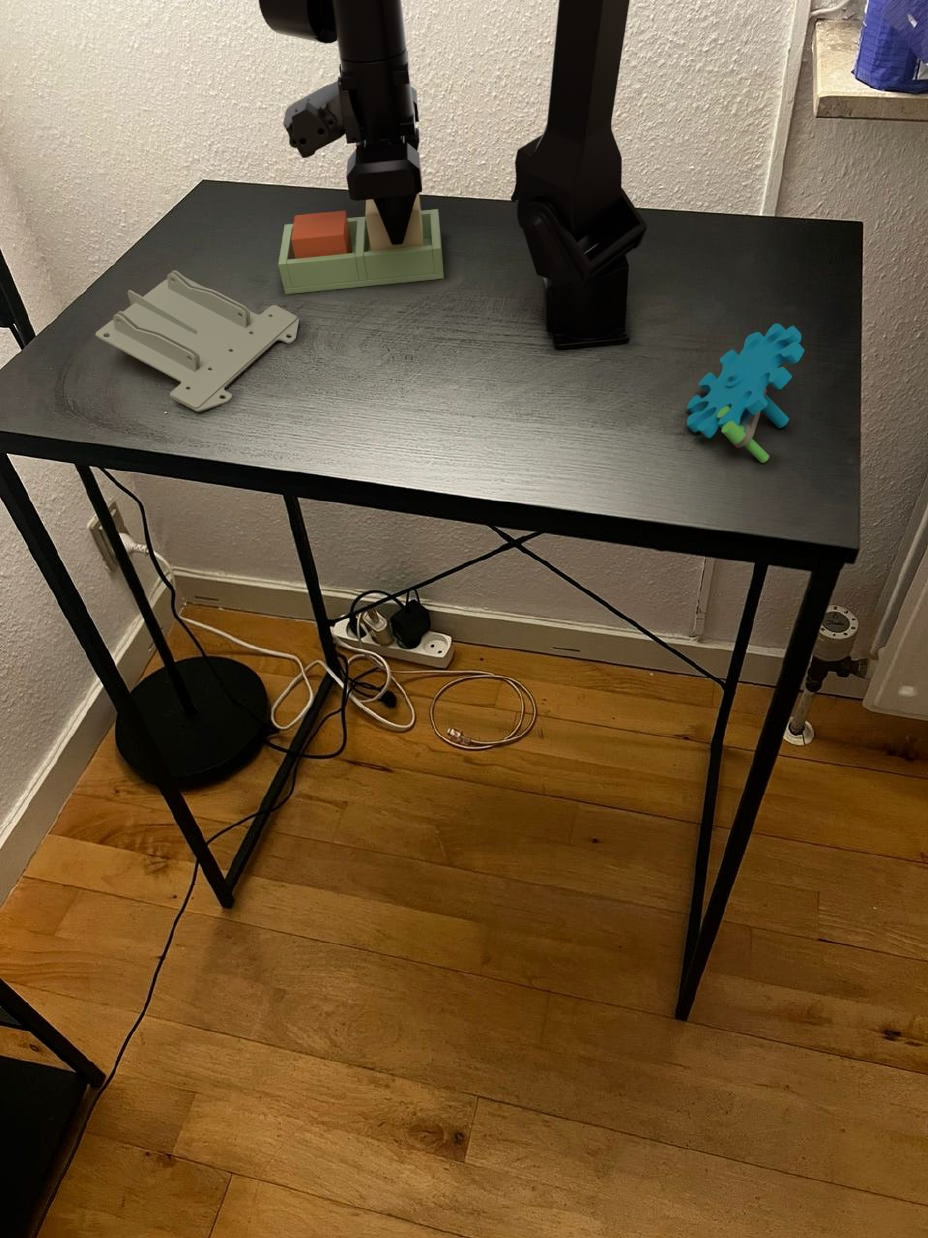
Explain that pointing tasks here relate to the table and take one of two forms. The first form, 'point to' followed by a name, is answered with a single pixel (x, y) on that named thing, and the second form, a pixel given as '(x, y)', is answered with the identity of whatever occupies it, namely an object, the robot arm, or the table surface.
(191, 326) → the metal bracket
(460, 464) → the table surface
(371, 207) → the tan block
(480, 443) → the table surface
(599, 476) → the table surface
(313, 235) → the terracotta block
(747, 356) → the gear
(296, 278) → the green divided tray
